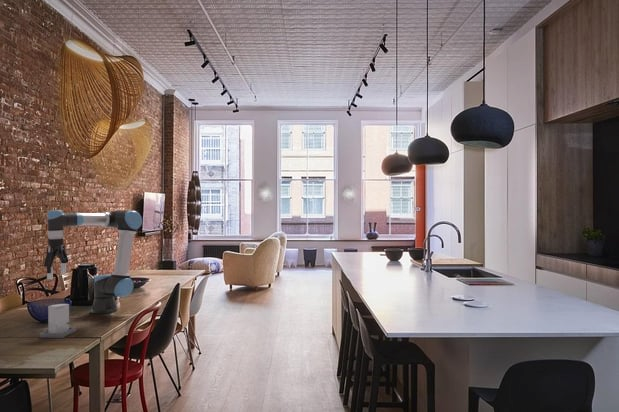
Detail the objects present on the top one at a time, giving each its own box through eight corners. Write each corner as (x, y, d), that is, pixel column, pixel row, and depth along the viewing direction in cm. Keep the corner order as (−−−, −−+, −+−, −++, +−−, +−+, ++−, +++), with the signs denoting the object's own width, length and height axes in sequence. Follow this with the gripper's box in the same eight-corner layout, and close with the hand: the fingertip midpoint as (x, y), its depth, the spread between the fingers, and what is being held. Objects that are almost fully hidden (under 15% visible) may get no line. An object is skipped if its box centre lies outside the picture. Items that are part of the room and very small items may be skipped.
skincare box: (54, 335, 243) (54, 306, 243) (47, 334, 246) (47, 305, 246) (69, 331, 251) (69, 303, 251) (62, 330, 254) (62, 302, 254)
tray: (53, 331, 255) (53, 327, 255) (76, 331, 254) (76, 327, 254) (39, 337, 242) (39, 333, 242) (63, 337, 242) (63, 333, 242)
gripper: (61, 236, 272) (62, 273, 272) (35, 240, 247) (36, 281, 247) (74, 236, 272) (75, 273, 272) (49, 240, 247) (51, 281, 247)
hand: (57, 277), depth 260 cm, fingers open, 13 cm apart
